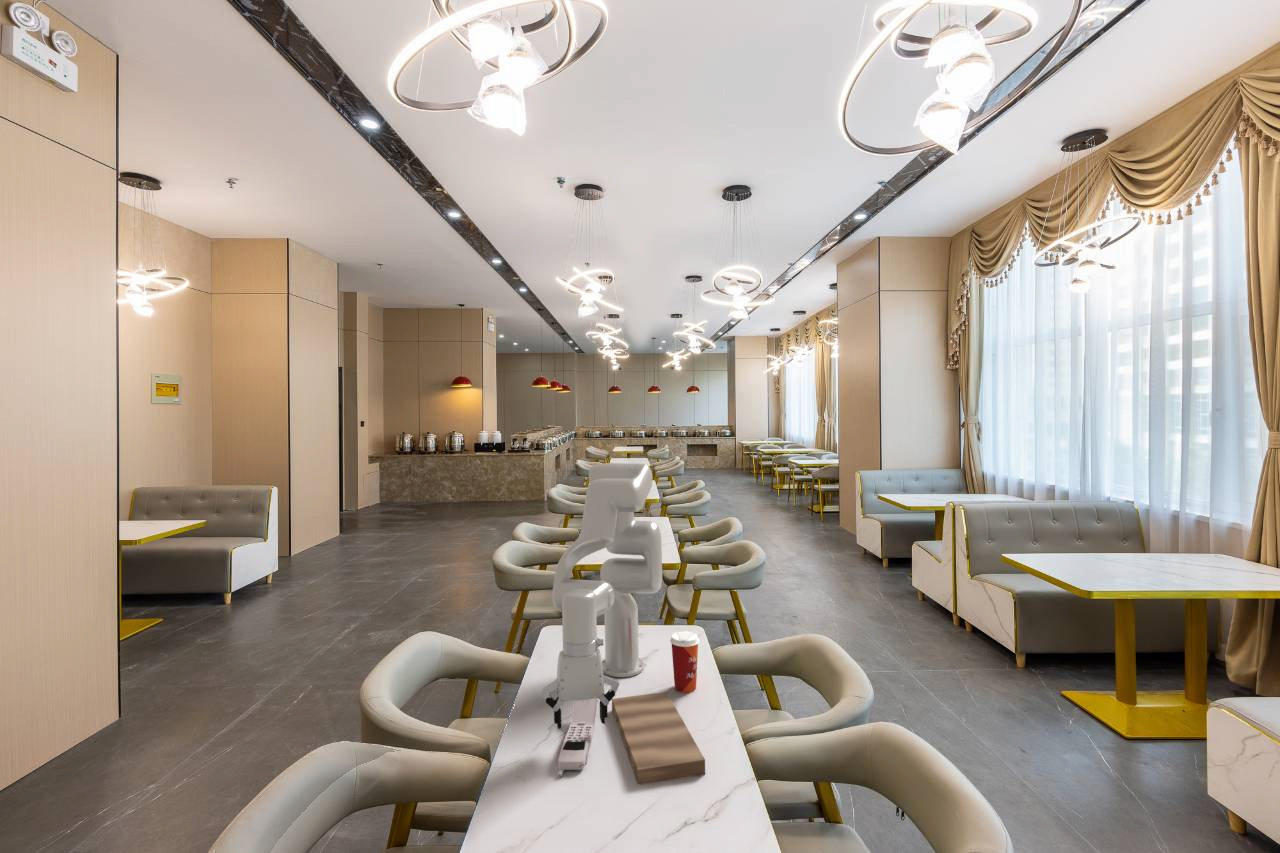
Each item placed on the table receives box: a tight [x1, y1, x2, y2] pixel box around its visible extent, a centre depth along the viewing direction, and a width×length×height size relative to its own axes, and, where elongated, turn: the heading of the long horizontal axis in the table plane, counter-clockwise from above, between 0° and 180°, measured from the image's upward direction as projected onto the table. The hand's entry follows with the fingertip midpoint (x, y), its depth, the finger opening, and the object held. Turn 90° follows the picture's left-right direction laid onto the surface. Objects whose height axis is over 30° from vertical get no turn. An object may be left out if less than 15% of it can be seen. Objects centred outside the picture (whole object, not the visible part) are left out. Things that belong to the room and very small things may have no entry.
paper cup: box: [669, 630, 700, 694], centre depth 162 cm, size 8×8×14 cm
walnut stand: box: [611, 691, 706, 785], centre depth 137 cm, size 30×14×3 cm, turn 13°
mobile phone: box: [557, 698, 599, 778], centre depth 136 cm, size 6×6×25 cm
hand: (580, 723), depth 135 cm, fingers open, 9 cm apart
